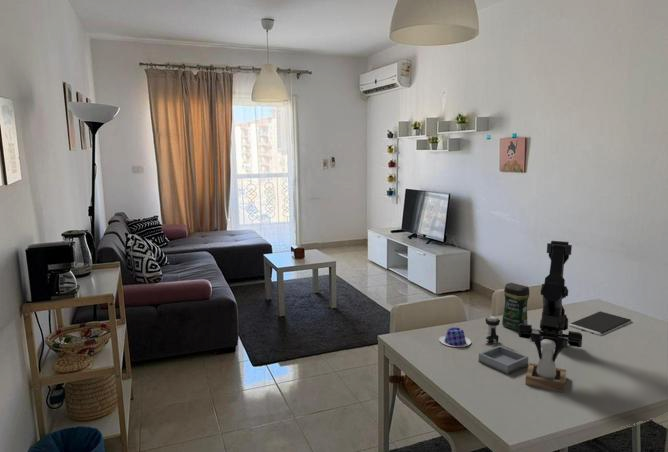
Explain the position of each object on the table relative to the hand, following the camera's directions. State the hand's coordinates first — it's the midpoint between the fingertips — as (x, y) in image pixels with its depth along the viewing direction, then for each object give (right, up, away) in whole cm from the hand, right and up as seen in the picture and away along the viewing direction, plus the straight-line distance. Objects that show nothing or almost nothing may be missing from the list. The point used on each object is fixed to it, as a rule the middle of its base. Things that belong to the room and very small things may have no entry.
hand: (546, 359), depth 145 cm
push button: (-7, -3, +32) cm, 33 cm away
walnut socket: (+1, -7, +2) cm, 8 cm away
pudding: (-20, -3, +33) cm, 39 cm away
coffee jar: (+9, 0, +48) cm, 48 cm away
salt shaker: (+1, -7, +2) cm, 7 cm away
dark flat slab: (+46, 0, +50) cm, 68 cm away
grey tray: (-8, -5, +15) cm, 18 cm away
